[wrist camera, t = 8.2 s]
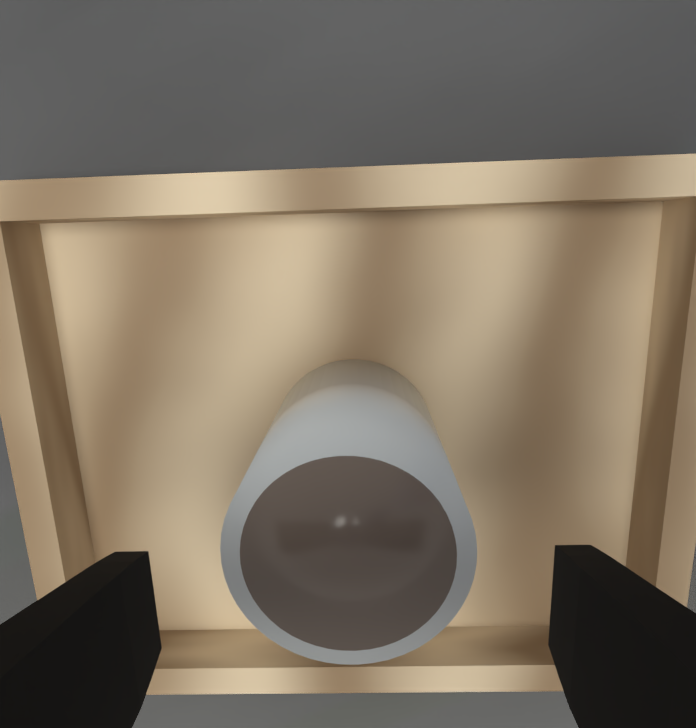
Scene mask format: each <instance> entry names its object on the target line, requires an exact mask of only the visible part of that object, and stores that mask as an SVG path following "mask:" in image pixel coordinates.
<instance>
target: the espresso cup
mask: <svg viewBox="0 0 696 728" xmlns="http://www.w3.org/2000/svg"><path fill="white" fill-rule="evenodd" d="M220 553H221V564H222V569H223V573H224V577H225V580H226V583H227V586H228V588H229V591H230V593H231V595H232V597H233V598H234V600H235V602H236V604H237V606H238V607H239V608H240V610H241V611H242V612H243V614H244V615H245V617H246V618H247V619H248V620H249V621H250V622H251V623H252V624H253V625H254V626H255V627H256V628H257V629H258V630H259V631H260V632H261V633H263V634H264V635H265V636H266V637H268V638H269V639H270V640H272V641H273V642H275V643H277V644H278V645H280V646H281V647H283V648H285V649H287V650H289V651H291V652H293V653H295V654H298V655H301V656H304V657H307V658H309V659H313V660H317V661H321V662H326V663H334V664H346V665H359V664H369V663H376V662H381V661H385V660H390V659H392V658H395V657H398V656H401V655H404V654H406V653H408V652H410V651H413V650H415V649H417V648H419V647H420V646H422V645H423V644H425V643H427V642H428V641H430V640H431V639H432V638H434V637H435V636H436V635H437V634H438V633H440V632H441V631H442V630H443V629H444V628H445V627H446V626H447V625H448V624H449V623H450V622H451V621H452V620H453V618H454V617H455V616H456V614H457V613H458V611H459V610H460V609H461V607H462V605H463V603H464V602H465V600H466V598H467V596H468V594H469V591H470V588H471V586H472V583H473V580H474V575H475V570H476V565H477V541H476V533H475V529H474V525H473V521H472V518H471V516H470V513H469V511H468V508H467V506H466V503H465V501H464V498H463V495H462V493H461V490H460V488H459V485H458V483H457V480H456V478H455V475H454V473H453V470H452V468H451V465H450V463H449V460H448V458H447V455H446V453H445V450H444V448H443V445H442V443H441V440H440V438H439V435H438V433H437V430H436V428H435V425H434V422H433V420H432V417H431V415H430V412H429V410H428V408H427V405H426V403H425V401H424V399H423V398H422V396H421V394H420V393H419V391H418V390H417V389H416V388H415V386H414V385H413V384H412V383H411V382H410V381H409V380H408V379H407V378H405V377H404V376H403V375H401V374H400V373H399V372H397V371H395V370H393V369H391V368H390V367H387V366H385V365H382V364H380V363H376V362H372V361H368V360H359V359H347V360H340V361H335V362H331V363H327V364H325V365H323V366H320V367H318V368H316V369H314V370H312V371H311V372H309V373H308V374H306V375H305V376H304V377H302V378H301V379H300V380H299V381H298V382H297V383H296V384H295V385H294V386H293V387H292V389H291V390H290V391H289V393H288V394H287V396H286V397H285V399H284V401H283V403H282V405H281V407H280V409H279V410H278V412H277V414H276V416H275V418H274V420H273V422H272V424H271V426H270V428H269V430H268V432H267V434H266V436H265V437H264V439H263V441H262V443H261V445H260V447H259V449H258V451H257V453H256V455H255V457H254V459H253V461H252V463H251V464H250V466H249V468H248V470H247V472H246V474H245V476H244V478H243V480H242V482H241V484H240V486H239V488H238V490H237V491H236V493H235V495H234V497H233V499H232V501H231V503H230V505H229V508H228V510H227V513H226V516H225V518H224V523H223V527H222V532H221V543H220Z"/></svg>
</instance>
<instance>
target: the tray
mask: <svg viewBox="0 0 696 728" xmlns="http://www.w3.org/2000/svg"><path fill="white" fill-rule="evenodd" d="M347 359H359V360H368V361H372V362H376V363H380V364H382V365H385V366H387V367H390V368H391V369H393V370H395V371H397V372H399V373H400V374H401V375H403V376H404V377H405V378H407V379H408V380H409V381H410V382H411V383H412V384H413V385H414V386H415V388H416V389H417V390H418V391H419V393H420V394H421V396H422V398H423V399H424V401H425V403H426V405H427V408H428V410H429V412H430V415H431V417H432V420H433V422H434V425H435V428H436V430H437V433H438V435H439V438H440V440H441V443H442V445H443V448H444V450H445V453H446V455H447V458H448V460H449V463H450V465H451V468H452V470H453V473H454V475H455V478H456V480H457V483H458V485H459V488H460V490H461V493H462V495H463V498H464V501H465V503H466V506H467V508H468V511H469V513H470V516H471V518H472V521H473V525H474V529H475V533H476V541H477V565H476V570H475V575H474V580H473V583H472V586H471V588H470V591H469V594H468V596H467V598H466V600H465V602H464V603H463V605H462V607H461V609H460V610H459V611H458V613H457V614H456V616H455V617H454V618H453V620H452V621H451V622H450V623H449V624H448V625H447V626H446V627H445V628H444V629H443V630H442V631H441V632H440V633H438V634H437V635H436V636H435V637H434V638H432V639H431V640H430V641H428V642H427V643H425V644H423V645H422V646H420V647H419V648H417V649H415V650H413V651H410V652H408V653H406V654H404V655H401V656H398V657H395V658H392V659H390V660H385V661H381V662H376V663H369V664H359V665H346V664H334V663H326V662H321V661H317V660H313V659H309V658H307V657H304V656H301V655H298V654H295V653H293V652H291V651H289V650H287V649H285V648H283V647H281V646H280V645H278V644H277V643H275V642H273V641H272V640H270V639H269V638H268V637H266V636H265V635H264V634H263V633H261V632H260V631H259V630H258V629H257V628H256V627H255V626H254V625H253V624H252V623H251V622H250V621H249V620H248V619H247V618H246V617H245V615H244V614H243V612H242V611H241V610H240V608H239V607H238V606H237V604H236V602H235V600H234V598H233V597H232V595H231V593H230V591H229V588H228V586H227V583H226V580H225V577H224V573H223V569H222V564H221V553H220V543H221V532H222V527H223V523H224V518H225V516H226V513H227V510H228V508H229V505H230V503H231V501H232V499H233V497H234V495H235V493H236V491H237V490H238V488H239V486H240V484H241V482H242V480H243V478H244V476H245V474H246V472H247V470H248V468H249V466H250V464H251V463H252V461H253V459H254V457H255V455H256V453H257V451H258V449H259V447H260V445H261V443H262V441H263V439H264V437H265V436H266V434H267V432H268V430H269V428H270V426H271V424H272V422H273V420H274V418H275V416H276V414H277V412H278V410H279V409H280V407H281V405H282V403H283V401H284V399H285V397H286V396H287V394H288V393H289V391H290V390H291V389H292V387H293V386H294V385H295V384H296V383H297V382H298V381H299V380H300V379H301V378H302V377H304V376H305V375H306V374H308V373H309V372H311V371H312V370H314V369H316V368H318V367H320V366H323V365H325V364H327V363H331V362H335V361H340V360H347ZM0 415H1V420H2V425H3V430H4V435H5V440H6V445H7V450H8V455H9V460H10V465H11V470H12V475H13V480H14V485H15V491H16V496H17V501H18V506H19V511H20V516H21V521H22V526H23V531H24V536H25V541H26V546H27V551H28V556H29V561H30V566H31V571H32V576H33V581H34V586H35V591H36V596H37V600H39V599H40V598H42V597H44V596H45V595H47V594H48V593H50V592H51V591H53V590H54V589H56V588H57V587H59V586H60V585H62V584H63V583H65V582H66V581H68V580H69V579H71V578H72V577H74V576H76V575H77V574H79V573H80V572H82V571H83V570H85V569H86V568H88V567H90V566H91V565H93V564H94V563H96V562H98V561H99V560H101V559H103V558H104V557H106V556H108V555H110V554H112V553H114V552H122V551H148V552H149V559H150V567H151V574H152V581H153V588H154V595H155V602H156V610H157V617H158V624H159V631H160V638H161V646H162V649H161V652H160V655H159V658H158V661H157V664H156V667H155V670H154V673H153V676H152V679H151V682H150V685H149V687H148V690H147V693H146V695H160V694H280V693H399V692H518V691H564V690H563V688H562V685H561V682H560V679H559V676H558V673H557V670H556V667H555V664H554V661H553V658H552V655H551V652H550V649H549V646H548V640H549V625H550V610H551V595H552V581H553V566H554V551H555V545H592V546H594V547H595V548H597V549H599V550H600V551H602V552H604V553H605V554H607V555H609V556H610V557H612V558H613V559H615V560H616V561H618V562H619V563H621V564H622V565H624V566H625V567H627V568H628V569H630V570H631V571H633V572H634V573H636V574H637V575H639V576H640V577H642V578H643V579H645V580H646V581H648V582H649V583H651V584H652V585H654V586H655V587H657V588H658V589H660V590H661V591H663V592H664V593H666V594H667V595H669V596H670V597H672V598H673V599H675V600H676V601H678V602H679V603H681V604H682V605H684V606H685V607H687V602H688V595H689V588H690V580H691V573H692V566H693V558H694V551H695V544H696V154H674V155H648V156H622V157H596V158H570V159H545V160H519V161H493V162H467V163H441V164H416V165H390V166H364V167H338V168H312V169H287V170H261V171H235V172H209V173H183V174H158V175H132V176H106V177H80V178H54V179H29V180H3V181H0Z"/></svg>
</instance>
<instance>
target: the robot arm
mask: <svg viewBox="0 0 696 728" xmlns="http://www.w3.org/2000/svg"><path fill="white" fill-rule="evenodd" d="M548 646H549V649H550V652H551V655H552V658H553V661H554V664H555V667H556V670H557V673H558V676H559V679H560V682H561V685H562V688H563V690H564V693H565V696H566V699H567V702H568V704H569V707H570V709H571V712H572V714H573V716H574V718H575V720H576V723H577V725H578V727H579V728H696V613H694V612H693V611H691V610H690V609H688V608H687V607H685V606H684V605H682V604H681V603H679V602H678V601H676V600H675V599H673V598H672V597H670V596H669V595H667V594H666V593H664V592H663V591H661V590H660V589H658V588H657V587H655V586H654V585H652V584H651V583H649V582H648V581H646V580H645V579H643V578H642V577H640V576H639V575H637V574H636V573H634V572H633V571H631V570H630V569H628V568H627V567H625V566H624V565H622V564H621V563H619V562H618V561H616V560H615V559H613V558H612V557H610V556H609V555H607V554H605V553H604V552H602V551H600V550H599V549H597V548H595V547H594V546H592V545H555V551H554V566H553V581H552V595H551V610H550V625H549V640H548ZM161 649H162V646H161V638H160V631H159V624H158V617H157V610H156V602H155V595H154V588H153V581H152V574H151V567H150V559H149V552H148V551H122V552H114V553H112V554H110V555H108V556H106V557H104V558H103V559H101V560H99V561H98V562H96V563H94V564H93V565H91V566H90V567H88V568H86V569H85V570H83V571H82V572H80V573H79V574H77V575H76V576H74V577H72V578H71V579H69V580H68V581H66V582H65V583H63V584H62V585H60V586H59V587H57V588H56V589H54V590H53V591H51V592H50V593H48V594H47V595H45V596H44V597H42V598H40V599H39V600H37V601H36V602H34V603H33V604H31V605H30V606H28V607H27V608H25V609H24V610H22V611H21V612H19V613H17V614H16V615H14V616H13V617H11V618H10V619H8V620H7V621H5V622H4V623H2V624H1V625H0V728H132V726H133V724H134V722H135V720H136V718H137V715H138V713H139V711H140V709H141V706H142V704H143V701H144V698H145V695H146V693H147V690H148V687H149V685H150V682H151V679H152V676H153V673H154V670H155V667H156V664H157V661H158V658H159V655H160V652H161Z"/></svg>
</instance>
